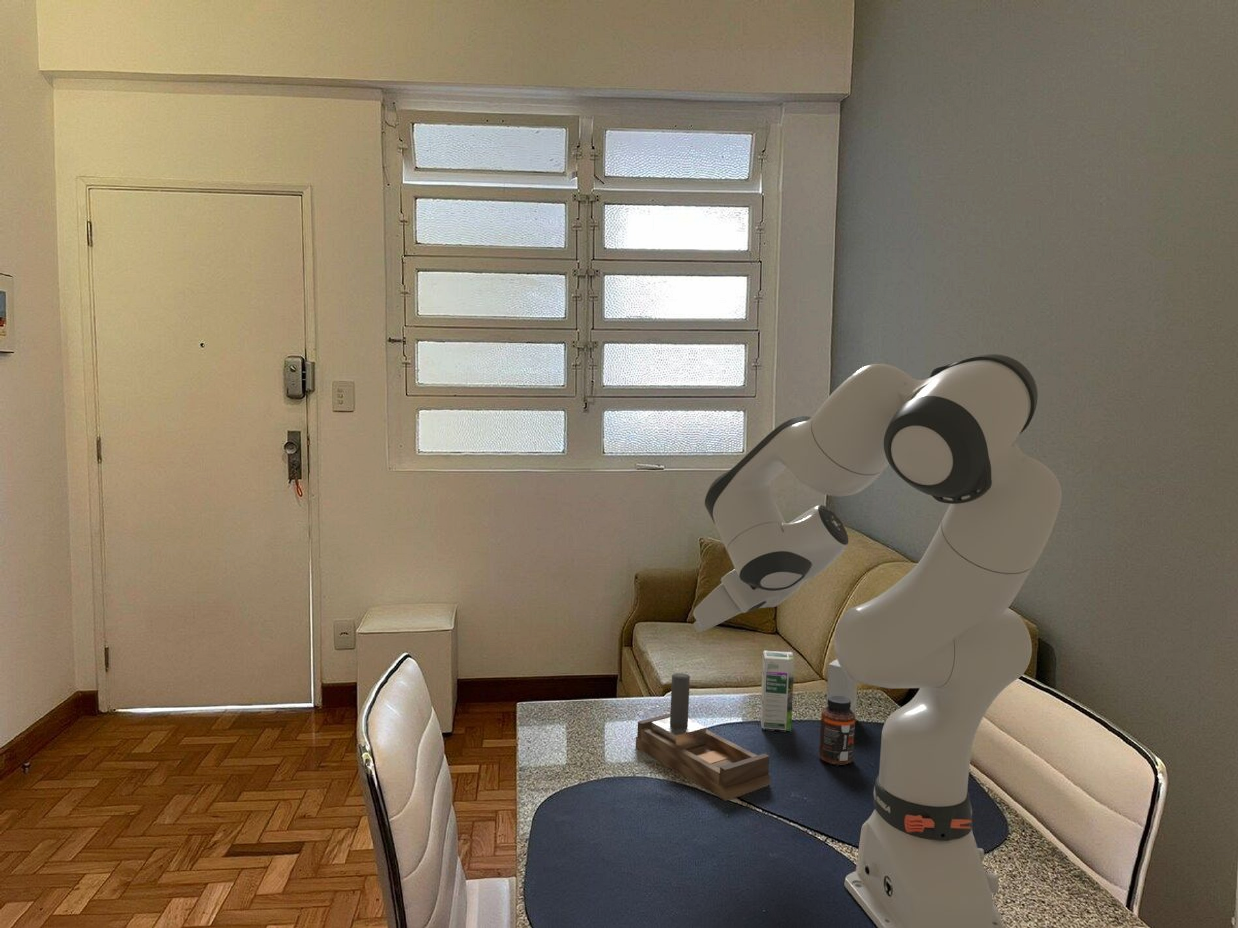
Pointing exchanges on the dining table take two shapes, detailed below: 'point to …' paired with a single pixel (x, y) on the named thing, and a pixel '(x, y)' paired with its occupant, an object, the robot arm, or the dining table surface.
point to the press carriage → (680, 717)
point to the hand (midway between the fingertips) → (714, 619)
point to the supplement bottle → (837, 731)
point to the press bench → (708, 762)
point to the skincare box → (841, 684)
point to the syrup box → (777, 690)
